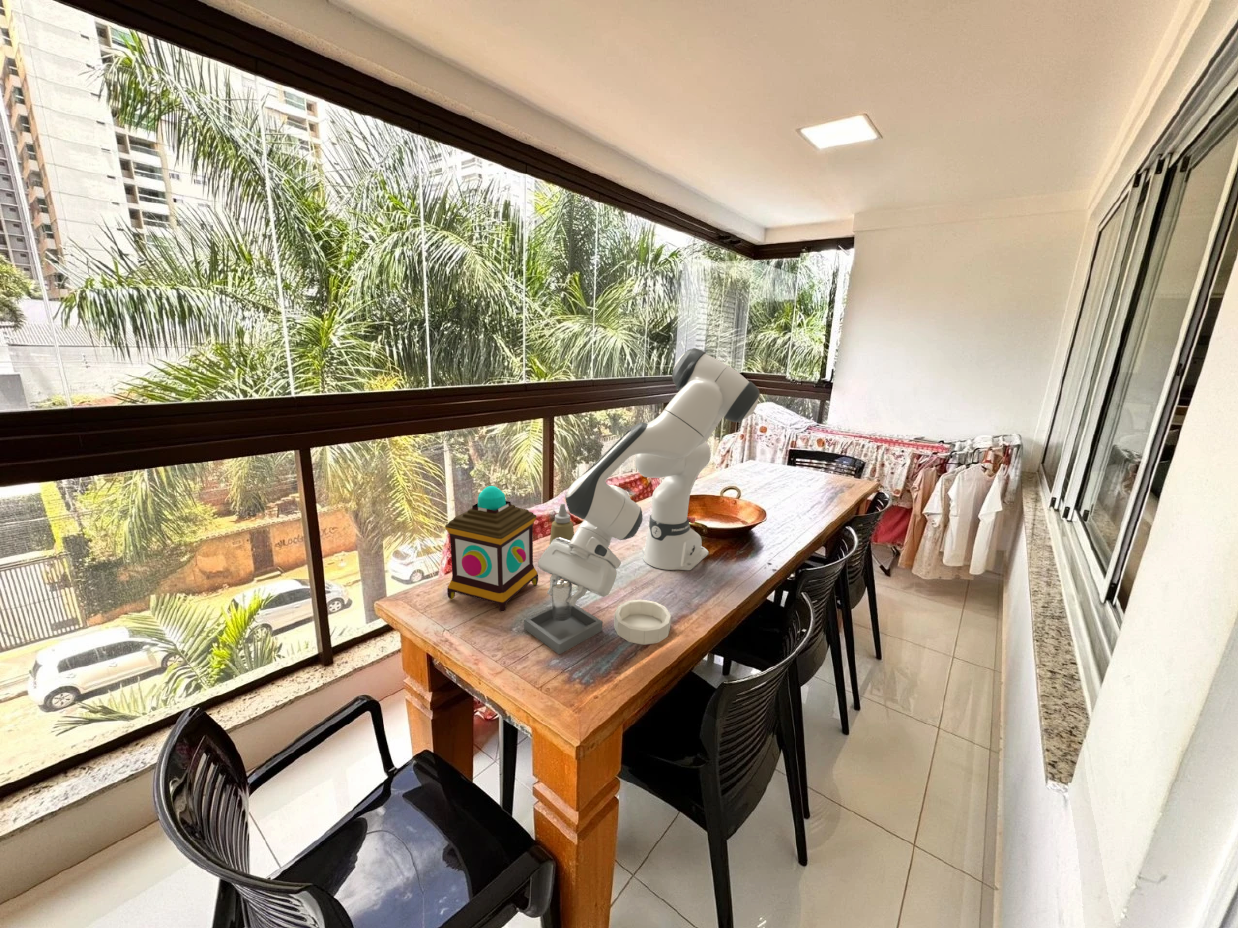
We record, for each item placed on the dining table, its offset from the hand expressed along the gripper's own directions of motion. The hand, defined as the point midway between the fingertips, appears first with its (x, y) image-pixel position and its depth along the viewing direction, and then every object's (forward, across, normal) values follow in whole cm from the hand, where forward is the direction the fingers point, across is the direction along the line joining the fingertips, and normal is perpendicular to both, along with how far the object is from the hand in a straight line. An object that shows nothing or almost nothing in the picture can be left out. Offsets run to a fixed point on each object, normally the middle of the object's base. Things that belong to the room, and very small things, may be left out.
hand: (560, 599), depth 115 cm
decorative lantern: (+5, -26, +9) cm, 28 cm away
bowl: (-3, +15, +15) cm, 21 cm away
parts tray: (+6, +1, +6) cm, 9 cm away
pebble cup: (+3, 0, +4) cm, 4 cm away
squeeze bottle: (-14, -25, +27) cm, 40 cm away
